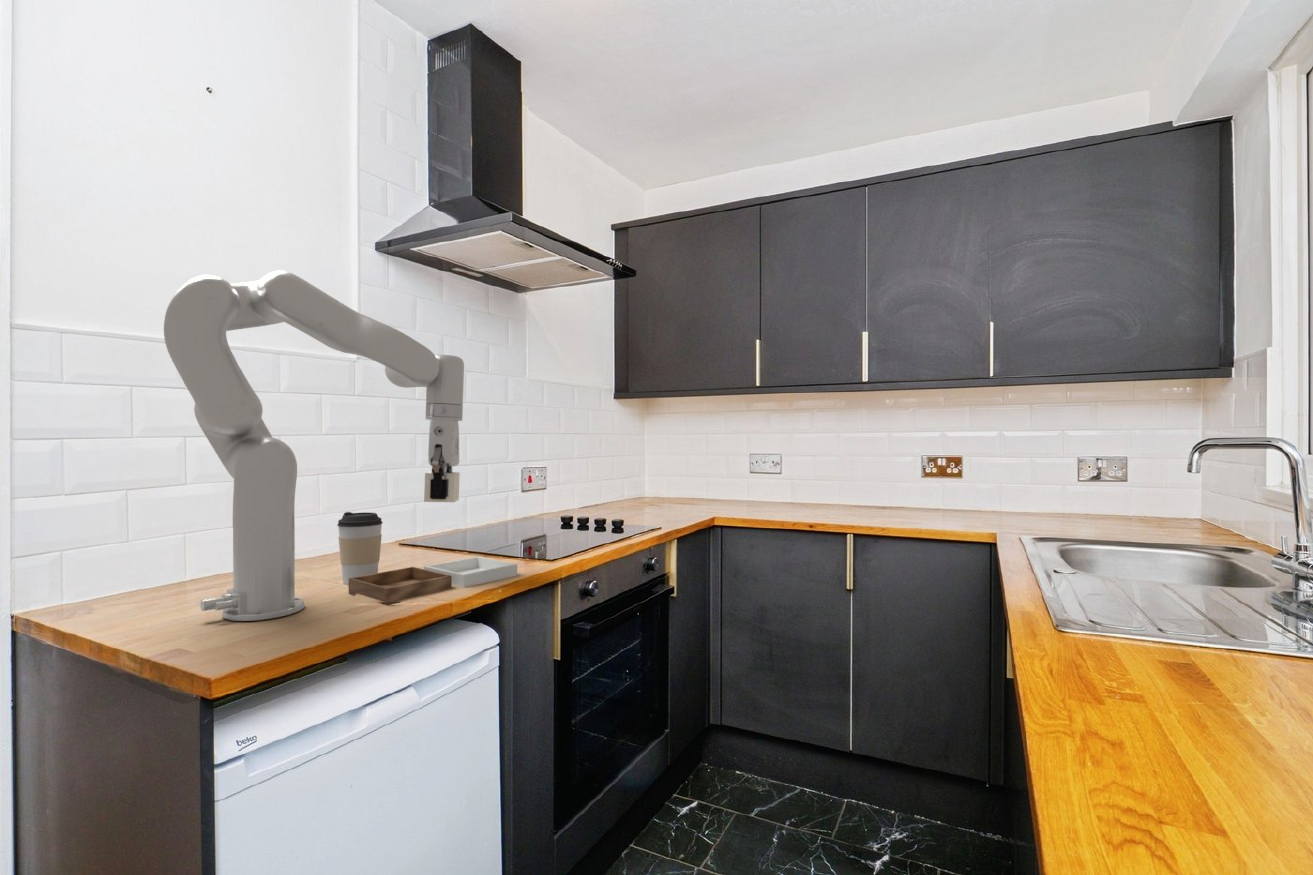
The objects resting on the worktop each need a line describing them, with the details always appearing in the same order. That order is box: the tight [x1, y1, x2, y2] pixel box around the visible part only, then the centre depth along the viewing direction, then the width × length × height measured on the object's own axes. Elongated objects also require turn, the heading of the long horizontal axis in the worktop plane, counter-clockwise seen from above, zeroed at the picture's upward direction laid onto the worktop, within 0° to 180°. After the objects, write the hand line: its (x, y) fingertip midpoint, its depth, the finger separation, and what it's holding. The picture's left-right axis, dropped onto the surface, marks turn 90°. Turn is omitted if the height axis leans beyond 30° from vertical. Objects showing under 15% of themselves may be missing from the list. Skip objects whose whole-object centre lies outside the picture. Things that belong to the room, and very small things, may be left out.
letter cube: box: [423, 471, 461, 503], centre depth 137 cm, size 6×6×6 cm
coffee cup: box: [336, 511, 383, 586], centre depth 140 cm, size 9×9×15 cm
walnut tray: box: [348, 566, 453, 606], centre depth 131 cm, size 14×14×3 cm
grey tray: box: [423, 556, 518, 589], centre depth 143 cm, size 14×14×3 cm
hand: (441, 496), depth 137 cm, fingers closed on letter cube, 6 cm apart
